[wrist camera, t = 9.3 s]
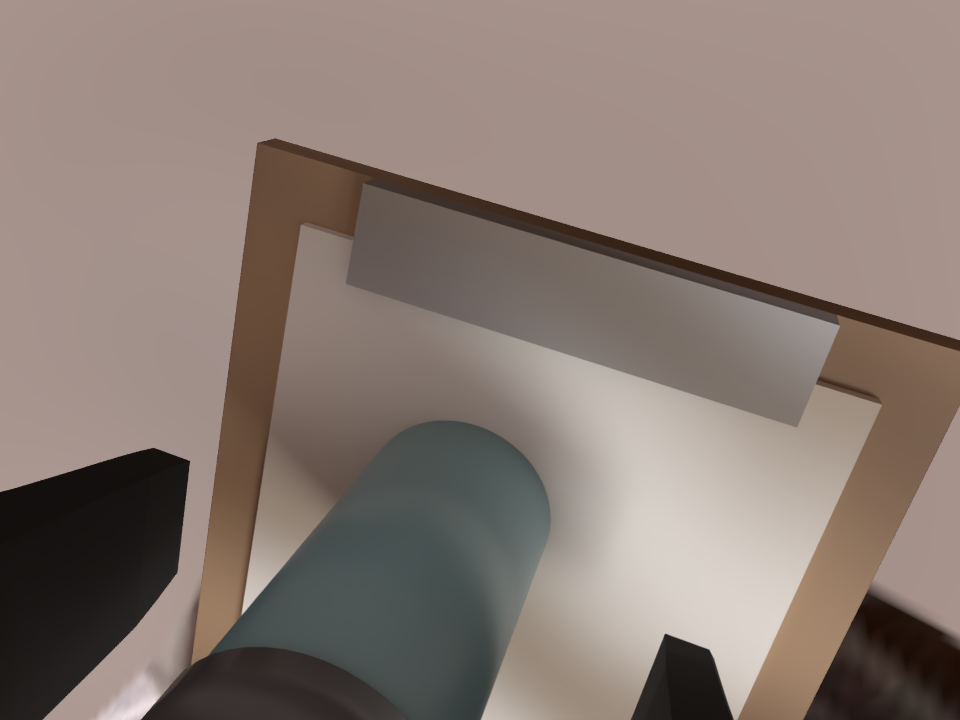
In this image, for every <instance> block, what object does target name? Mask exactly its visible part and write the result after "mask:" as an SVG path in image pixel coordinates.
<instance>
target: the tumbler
mask: <svg viewBox="0 0 960 720" xmlns="http://www.w3.org/2000/svg"><path fill="white" fill-rule="evenodd" d="M550 522H551V516H550V506H549V501H548V496H547V493H546V490H545V488H544V485H543V483H542V481H541V479H540V477H539V475H538V473H537V472H536V470H535V469H534V467H533V466H532V464H531V463H530V462H529V461H528V460H527V458H526V457H525V456H524V455H523V454H522V453H521V452H520V451H519V450H518V449H517V448H515V447H514V446H513V445H512V444H511V443H509V442H508V441H506V440H505V439H504V438H502V437H500V436H499V435H497V434H495V433H493V432H491V431H489V430H487V429H484V428H482V427H480V426H476V425H473V424H469V423H465V422H459V421H445V420H441V421H430V422H426V423H421V424H418V425H415V426H413V427H410V428H408V429H406V430H404V431H402V432H400V433H399V434H397V435H396V436H395V437H393V438H392V439H391V440H390V441H389V442H388V443H387V444H386V445H385V446H384V447H383V448H382V449H381V450H380V452H379V453H378V454H377V455H376V456H375V458H374V459H373V460H372V461H371V462H370V464H369V465H368V466H367V467H366V468H365V469H364V471H363V472H362V473H361V474H360V475H359V477H358V478H357V479H356V480H355V481H354V483H353V484H352V485H351V486H350V487H349V489H348V490H347V491H346V492H345V493H344V494H343V496H342V497H341V498H340V499H339V500H338V502H337V503H336V504H335V505H334V506H333V508H332V509H331V510H330V511H329V512H328V513H327V515H326V516H325V517H324V518H323V519H322V521H321V522H320V523H319V524H318V525H317V527H316V528H315V529H314V530H313V531H312V532H311V534H310V535H309V536H308V537H307V538H306V540H305V541H304V542H303V543H302V544H301V546H300V547H299V548H298V549H297V550H296V551H295V553H294V554H293V555H292V556H291V557H290V559H289V560H288V561H287V562H286V563H285V565H284V566H283V567H282V568H281V569H280V571H279V572H278V573H277V574H276V575H275V576H274V578H273V579H272V580H271V581H270V582H269V584H268V585H267V586H266V587H265V588H264V590H263V591H262V592H261V593H260V594H259V595H258V597H257V598H256V599H255V600H254V601H253V603H252V604H251V605H250V606H249V607H248V609H247V610H246V611H245V612H244V613H243V614H242V616H241V617H240V618H239V619H238V620H237V622H236V623H235V624H234V625H233V626H232V628H231V629H230V630H229V631H228V632H227V633H226V635H225V636H224V637H223V638H222V639H221V641H220V642H219V643H218V644H217V645H216V647H215V648H214V649H213V650H212V651H211V653H210V654H209V655H208V656H207V657H205V658H203V659H201V660H198V661H197V662H195V663H194V664H192V665H191V666H190V667H188V668H187V669H185V670H184V671H183V672H182V673H181V674H180V676H179V677H178V678H177V679H176V680H175V681H174V682H173V683H172V684H171V685H170V687H169V688H168V689H167V690H166V691H165V692H164V694H163V695H162V696H161V697H160V698H159V699H158V701H157V702H156V703H155V704H154V705H153V706H152V708H151V709H150V710H149V711H148V712H147V713H146V714H145V716H144V717H143V718H142V719H141V720H481V719H482V716H483V713H484V710H485V708H486V705H487V702H488V700H489V697H490V694H491V692H492V689H493V686H494V683H495V681H496V678H497V675H498V673H499V670H500V667H501V665H502V662H503V659H504V656H505V654H506V651H507V648H508V646H509V643H510V640H511V638H512V635H513V632H514V629H515V627H516V624H517V621H518V619H519V616H520V613H521V611H522V608H523V605H524V602H525V600H526V597H527V594H528V592H529V589H530V586H531V584H532V581H533V578H534V576H535V573H536V570H537V567H538V565H539V562H540V559H541V557H542V554H543V551H544V549H545V546H546V543H547V540H548V536H549V532H550Z"/></svg>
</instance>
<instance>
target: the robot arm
mask: <svg viewBox="0 0 960 720" xmlns="http://www.w3.org/2000/svg"><path fill="white" fill-rule="evenodd" d="M189 465H190V461H188V460H186V459H183V458H180V457H177V456H174V455H172V454H169V453H166V452H164V451H161V450H158V449H155V448H151V449H147V450H142V451H139V452H134V453H131V454H127V455H124V456H120V457H117V458H114V459H110V460H107V461H103V462H100V463H97V464H94V465H90V466H87V467H84V468H81V469H78V470H74V471H71V472H68V473H65V474H61V475H58V476H54V477H51V478H48V479H44V480H41V481H38V482H34V483H31V484H28V485H24V486H21V487H18V488H14V489H10V490H6V491H3V492H0V720H43V719H44V718H45V717H46V716H47V714H48V713H50V712H51V711H52V710H53V709H54V708H55V707H56V706H57V705H58V704H59V703H60V702H61V701H62V700H63V699H64V698H65V697H66V696H67V695H68V694H69V693H70V692H71V691H72V690H73V689H74V688H75V687H76V686H77V685H78V684H79V683H80V682H81V681H82V680H83V679H84V678H85V677H86V676H87V675H88V674H89V673H90V672H91V671H92V670H93V669H94V668H95V667H96V666H97V665H98V664H99V663H100V662H101V661H102V660H103V659H104V658H105V657H106V656H107V655H108V654H109V653H110V652H111V651H112V650H113V649H114V648H115V647H116V646H117V645H118V644H119V643H120V642H121V641H122V640H123V639H124V638H125V637H126V636H127V635H128V634H129V633H130V632H131V631H132V630H133V629H134V628H135V627H136V626H137V624H138V623H139V622H140V620H141V619H142V618H143V617H144V616H145V614H146V613H147V612H148V611H149V609H150V608H151V607H152V605H153V604H154V603H155V602H156V600H157V599H158V598H159V596H160V595H161V594H162V592H163V591H164V590H165V588H166V587H167V586H168V584H169V583H170V582H171V580H172V579H173V578H174V576H175V575H176V574H177V571H178V562H179V553H180V544H181V535H182V526H183V517H184V509H185V501H186V492H187V482H188V473H189ZM631 720H734V719H733V716H732V713H731V710H730V707H729V704H728V701H727V698H726V695H725V692H724V689H723V686H722V683H721V680H720V676H719V673H718V670H717V666H716V663H715V660H714V658H713V656H712V654H711V652H710V650H709V649H707V648H704V647H701V646H698V645H696V644H693V643H690V642H687V641H685V640H682V639H679V638H676V637H673V636H671V635H668V634H665V635H664V637H663V640H662V642H661V645H660V647H659V650H658V652H657V655H656V658H655V660H654V663H653V665H652V668H651V670H650V673H649V675H648V678H647V680H646V683H645V685H644V688H643V690H642V693H641V695H640V698H639V700H638V703H637V706H636V708H635V711H634V713H633V716H632V718H631Z"/></svg>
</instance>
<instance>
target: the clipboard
mask: <svg viewBox="0 0 960 720" xmlns="http://www.w3.org/2000/svg"><path fill="white" fill-rule="evenodd" d="M959 406H960V340H956V339H953V338H950V337H947V336H943V335H940V334H936V333H933V332H929V331H926V330H923V329H919V328H916V327H912V326H909V325H906V324H902V323H899V322H896V321H892V320H889V319H885V318H882V317H879V316H875V315H872V314H868V313H865V312H861V311H858V310H855V309H852V308H848V307H845V306H841V305H838V304H835V303H831V302H828V301H824V300H821V299H817V298H814V297H811V296H807V295H804V294H801V293H797V292H794V291H791V290H787V289H784V288H780V287H777V286H774V285H770V284H766V283H763V282H760V281H756V280H753V279H750V278H746V277H743V276H740V275H736V274H733V273H730V272H726V271H723V270H719V269H716V268H712V267H709V266H706V265H702V264H699V263H695V262H692V261H689V260H685V259H682V258H679V257H675V256H671V255H669V254H665V253H662V252H658V251H655V250H652V249H648V248H645V247H641V246H638V245H634V244H631V243H628V242H624V241H621V240H617V239H614V238H611V237H607V236H604V235H601V234H597V233H594V232H591V231H587V230H584V229H580V228H577V227H574V226H570V225H567V224H563V223H560V222H557V221H553V220H550V219H546V218H543V217H540V216H536V215H533V214H529V213H526V212H523V211H519V210H516V209H512V208H509V207H506V206H502V205H499V204H496V203H492V202H489V201H485V200H482V199H479V198H475V197H472V196H468V195H465V194H461V193H458V192H455V191H451V190H448V189H445V188H441V187H438V186H434V185H431V184H428V183H424V182H421V181H418V180H414V179H411V178H407V177H404V176H401V175H397V174H394V173H390V172H387V171H384V170H380V169H377V168H373V167H370V166H366V165H363V164H360V163H356V162H353V161H349V160H346V159H343V158H340V157H336V156H333V155H329V154H326V153H322V152H319V151H316V150H312V149H309V148H305V147H302V146H299V145H295V144H292V143H289V142H285V141H282V140H279V139H272V140H268V141H263V142H260V143H257V151H256V158H255V166H254V174H253V182H252V190H251V198H250V206H249V214H248V221H247V229H246V237H245V245H244V253H243V260H242V268H241V276H240V284H239V292H238V300H237V308H236V315H235V324H234V331H233V339H232V347H231V356H230V363H229V371H228V379H227V386H226V394H225V402H224V411H223V418H222V426H221V434H220V441H219V449H218V457H217V465H216V473H215V481H214V489H213V496H212V504H211V512H210V520H209V528H208V536H207V544H206V552H205V559H204V567H203V575H202V583H201V591H200V599H199V606H198V614H197V622H196V630H195V638H194V646H193V654H192V661H191V665H192V664H194V663H195V662H197V661H198V660H201V659H203V658H205V657H207V656H208V655H209V654H210V653H211V651H212V650H213V649H214V648H215V647H216V645H217V644H218V643H219V642H220V641H221V639H222V638H223V637H224V636H225V635H226V633H227V632H228V631H229V630H230V629H231V628H232V626H233V625H234V624H235V623H236V622H237V620H238V619H239V618H240V617H241V616H242V614H243V613H244V612H245V611H246V610H247V609H248V607H249V606H250V605H251V604H252V603H253V601H254V600H255V599H256V598H257V597H258V595H259V594H260V593H261V592H262V591H263V590H264V588H265V587H266V586H267V585H268V584H269V582H270V581H271V580H272V579H273V578H274V576H275V575H276V574H277V573H278V572H279V571H280V569H281V568H282V567H283V566H284V565H285V563H286V562H287V561H288V560H289V559H290V557H291V556H292V555H293V554H294V553H295V551H296V550H297V549H298V548H299V547H300V546H301V544H302V543H303V542H304V541H305V540H306V538H307V537H308V536H309V535H310V534H311V532H312V531H313V530H314V529H315V528H316V527H317V525H318V524H319V523H320V522H321V521H322V519H323V518H324V517H325V516H326V515H327V513H328V512H329V511H330V510H331V509H332V508H333V506H334V505H335V504H336V503H337V502H338V500H339V499H340V498H341V497H342V496H343V494H344V493H345V492H346V491H347V490H348V489H349V487H350V486H351V485H352V484H353V483H354V481H355V480H356V479H357V478H358V477H359V475H360V474H361V473H362V472H363V471H364V469H365V468H366V467H367V466H368V465H369V464H370V462H371V461H372V460H373V459H374V458H375V456H376V455H377V454H378V453H379V452H380V450H381V449H382V448H383V447H384V446H385V445H386V444H387V443H388V442H389V441H390V440H391V439H392V438H393V437H395V436H396V435H397V434H399V433H400V432H402V431H404V430H406V429H408V428H410V427H413V426H415V425H418V424H421V423H426V422H430V421H441V420H445V421H459V422H465V423H469V424H473V425H476V426H480V427H482V428H484V429H487V430H489V431H491V432H493V433H495V434H497V435H499V436H500V437H502V438H504V439H505V440H506V441H508V442H509V443H511V444H512V445H513V446H514V447H515V448H517V449H518V450H519V451H520V452H521V453H522V454H523V455H524V456H525V457H526V458H527V460H528V461H529V462H530V463H531V464H532V466H533V467H534V469H535V470H536V472H537V473H538V475H539V477H540V479H541V481H542V483H543V485H544V488H545V490H546V493H547V496H548V501H549V506H550V516H551V522H550V532H549V536H548V540H547V543H546V546H545V549H544V551H543V554H542V557H541V559H540V562H539V565H538V567H537V570H536V573H535V576H534V578H533V581H532V584H531V586H530V589H529V592H528V594H527V597H526V600H525V602H524V605H523V608H522V611H521V613H520V616H519V619H518V621H517V624H516V627H515V629H514V632H513V635H512V638H511V640H510V643H509V646H508V648H507V651H506V654H505V656H504V659H503V662H502V665H501V667H500V670H499V673H498V675H497V678H496V681H495V683H494V686H493V689H492V692H491V694H490V697H489V700H488V702H487V705H486V708H485V710H484V713H483V716H482V719H481V720H631V718H632V716H633V713H634V711H635V708H636V706H637V703H638V700H639V698H640V695H641V693H642V690H643V688H644V685H645V683H646V680H647V678H648V675H649V673H650V670H651V668H652V665H653V663H654V660H655V658H656V655H657V652H658V650H659V647H660V645H661V642H662V640H663V637H664V635H665V634H668V635H671V636H673V637H676V638H679V639H682V640H685V641H687V642H690V643H693V644H696V645H698V646H701V647H704V648H707V649H709V650H710V652H711V654H712V656H713V658H714V660H715V663H716V666H717V670H718V673H719V676H720V680H721V683H722V686H723V689H724V692H725V695H726V698H727V701H728V704H729V707H730V710H731V713H732V716H733V719H734V720H803V718H804V716H805V714H806V712H807V710H808V708H809V706H810V704H811V702H812V700H813V698H814V696H815V694H816V692H817V690H818V688H819V686H820V684H821V682H822V680H823V678H824V676H825V674H826V672H827V670H828V668H829V666H830V664H831V662H832V660H833V658H834V656H835V654H836V652H837V650H838V648H839V646H840V644H841V642H842V640H843V638H844V636H845V634H846V632H847V630H848V628H849V626H850V624H851V622H852V620H853V618H854V616H855V614H856V612H857V610H858V608H859V606H860V604H861V602H862V600H863V598H864V596H865V594H866V592H867V590H868V588H869V586H870V584H871V582H872V580H873V578H874V576H875V574H876V572H877V570H878V568H879V566H880V564H881V562H882V560H883V558H884V556H885V554H886V552H887V550H888V548H889V546H890V544H891V542H892V540H893V538H894V536H895V534H896V532H897V530H898V528H899V526H900V524H901V522H902V520H903V518H904V516H905V514H906V512H907V510H908V508H909V506H910V504H911V502H912V500H913V498H914V496H915V494H916V492H917V490H918V488H919V486H920V484H921V482H922V480H923V478H924V476H925V474H926V472H927V470H928V468H929V466H930V464H931V462H932V460H933V458H934V456H935V454H936V452H937V450H938V448H939V446H940V444H941V442H942V440H943V438H944V436H945V434H946V432H947V430H948V428H949V425H950V424H951V422H952V420H953V418H954V416H955V414H956V412H957V410H958V408H959Z"/></svg>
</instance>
